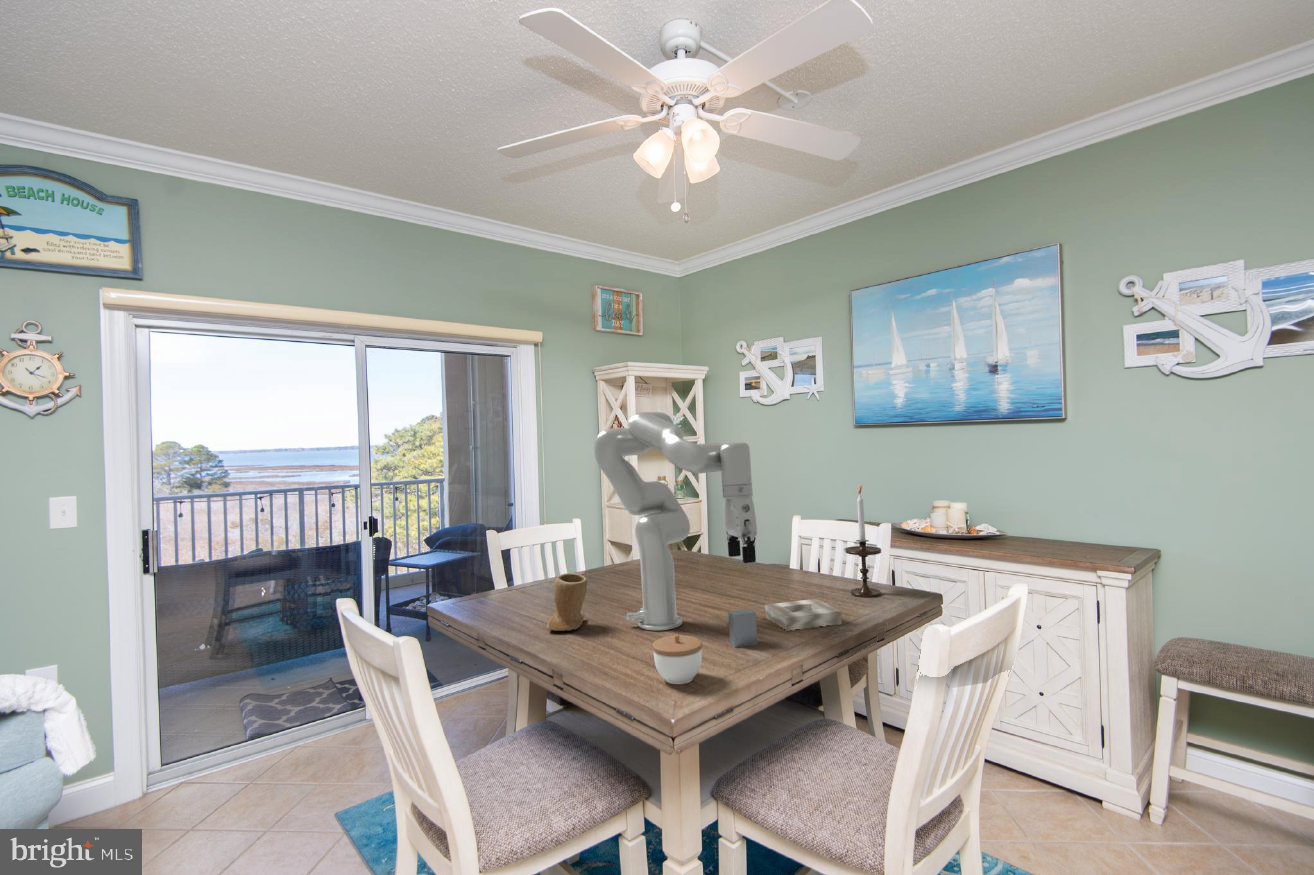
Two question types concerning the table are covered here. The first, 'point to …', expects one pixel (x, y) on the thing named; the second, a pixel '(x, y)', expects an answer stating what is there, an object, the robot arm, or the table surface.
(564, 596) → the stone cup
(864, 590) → the candlestick
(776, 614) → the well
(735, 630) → the upright grey box
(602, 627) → the table surface
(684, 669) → the lidded jar
